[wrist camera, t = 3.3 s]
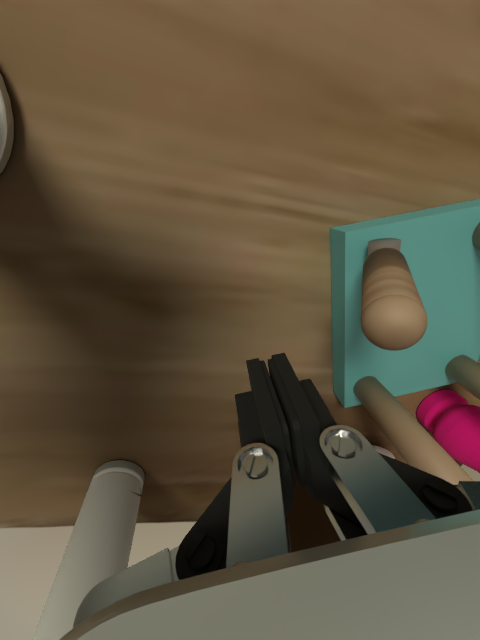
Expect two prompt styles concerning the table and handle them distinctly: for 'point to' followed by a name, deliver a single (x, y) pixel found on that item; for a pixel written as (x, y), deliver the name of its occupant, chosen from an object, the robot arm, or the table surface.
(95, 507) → the travel mug
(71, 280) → the table surface
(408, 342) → the hinged leg
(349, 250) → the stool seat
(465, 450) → the pepper mill
